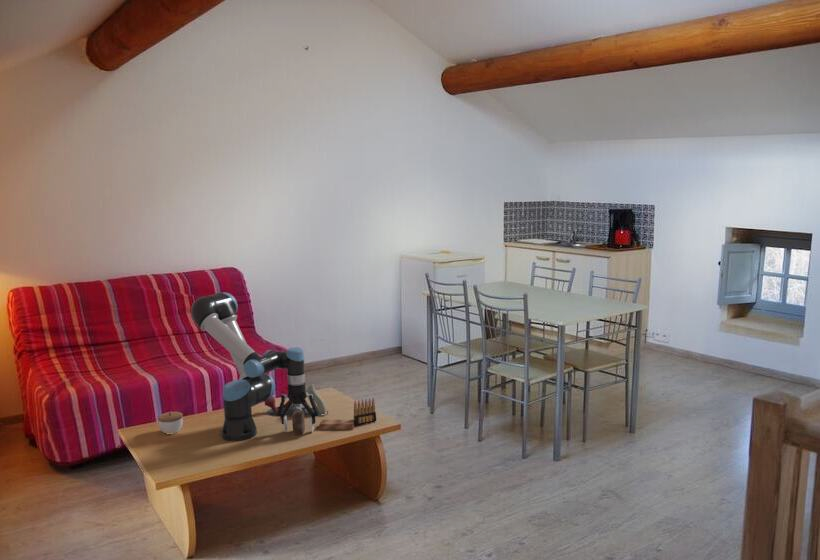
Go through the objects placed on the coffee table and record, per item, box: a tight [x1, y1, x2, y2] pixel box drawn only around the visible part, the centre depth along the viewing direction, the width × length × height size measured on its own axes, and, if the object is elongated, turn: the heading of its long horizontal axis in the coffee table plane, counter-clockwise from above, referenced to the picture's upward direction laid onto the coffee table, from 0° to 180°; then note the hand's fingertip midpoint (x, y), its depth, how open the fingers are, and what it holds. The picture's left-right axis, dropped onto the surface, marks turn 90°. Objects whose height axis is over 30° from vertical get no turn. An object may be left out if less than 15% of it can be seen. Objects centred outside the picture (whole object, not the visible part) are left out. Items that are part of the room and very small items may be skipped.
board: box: [318, 419, 355, 430], centre depth 320 cm, size 15×6×2 cm, turn 86°
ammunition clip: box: [353, 397, 377, 427], centre depth 324 cm, size 11×2×12 cm, turn 116°
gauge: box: [291, 410, 306, 436], centre depth 316 cm, size 4×10×10 cm, turn 176°
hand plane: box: [264, 383, 329, 417], centre depth 340 cm, size 7×31×15 cm, turn 81°
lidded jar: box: [157, 411, 184, 434], centre depth 319 cm, size 11×11×9 cm
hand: (299, 430), depth 315 cm, fingers open, 11 cm apart
